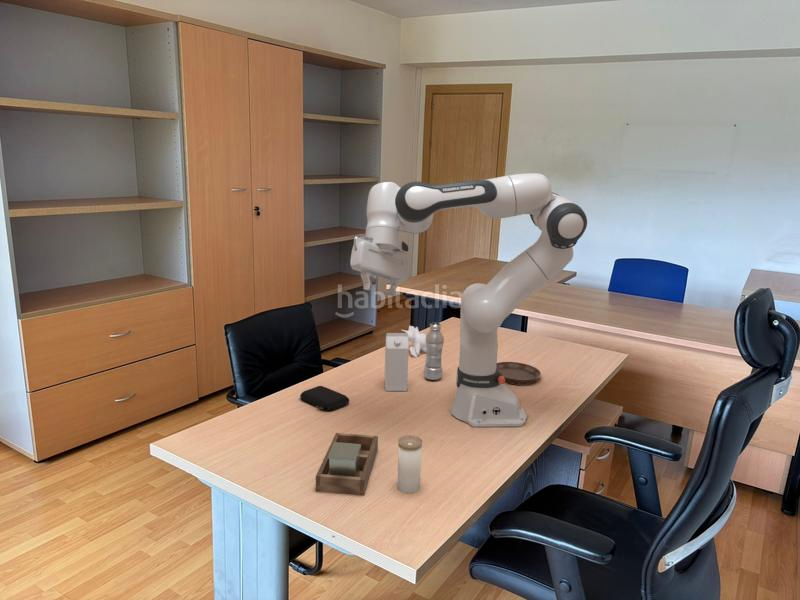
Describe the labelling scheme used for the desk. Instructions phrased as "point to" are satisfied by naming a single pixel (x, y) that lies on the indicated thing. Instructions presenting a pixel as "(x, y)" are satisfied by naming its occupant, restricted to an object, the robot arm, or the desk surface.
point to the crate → (345, 482)
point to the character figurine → (416, 340)
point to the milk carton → (396, 361)
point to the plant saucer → (518, 372)
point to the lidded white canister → (409, 463)
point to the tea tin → (344, 459)
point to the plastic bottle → (434, 352)
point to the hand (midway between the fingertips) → (379, 293)
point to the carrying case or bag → (324, 398)
